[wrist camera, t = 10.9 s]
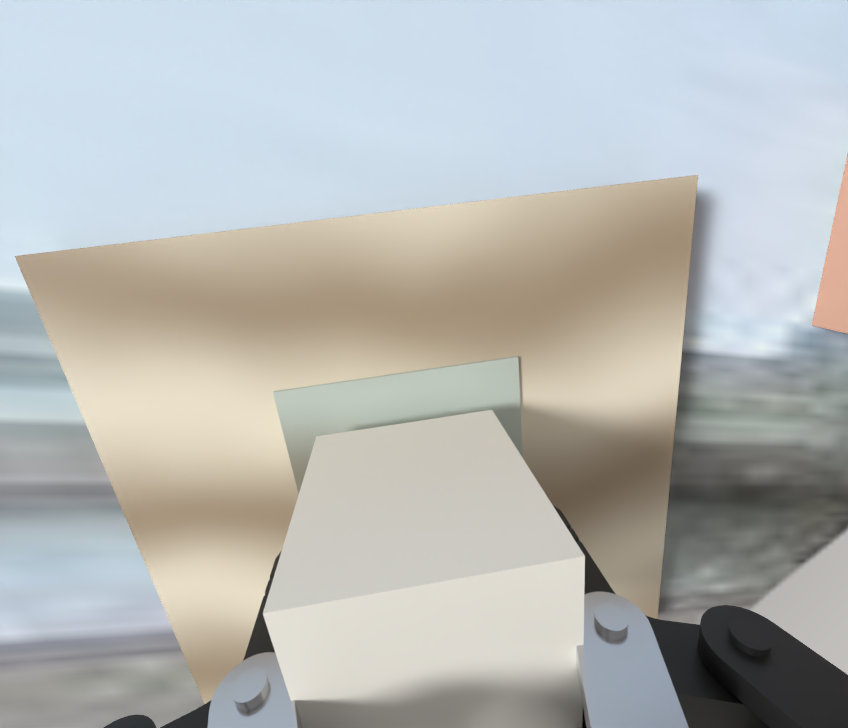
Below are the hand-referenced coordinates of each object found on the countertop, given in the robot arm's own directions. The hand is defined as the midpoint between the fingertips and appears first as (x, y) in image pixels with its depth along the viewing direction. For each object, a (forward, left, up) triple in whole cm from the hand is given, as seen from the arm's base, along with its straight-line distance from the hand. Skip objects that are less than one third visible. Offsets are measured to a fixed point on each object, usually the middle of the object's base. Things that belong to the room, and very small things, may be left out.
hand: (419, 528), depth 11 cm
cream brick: (0, 0, 0) cm, 0 cm away
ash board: (0, 0, -3) cm, 3 cm away
